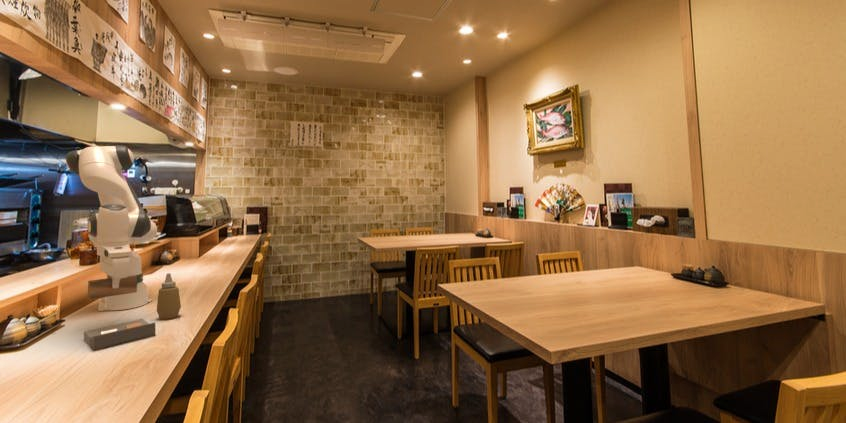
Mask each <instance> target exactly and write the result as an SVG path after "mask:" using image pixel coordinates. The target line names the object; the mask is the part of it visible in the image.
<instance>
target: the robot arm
mask: <svg viewBox="0 0 846 423" xmlns="http://www.w3.org/2000/svg"><path fill="white" fill-rule="evenodd" d="M134 162H135V156H134V153H133V151H131V149H129V147H127V146H126V145H122V144H121V145H119V144H117V145H104V146H103V145H102V146H96V145H95V146H87V147H85V148H83V149H79V150H78V149H75V150H72V151H68V153H67V154H66V155H65V164H66V167H67V168H68V169H69V170H70V172H72V173H73V174H75V175H77V176H78V175H79V178H80V180H81V183H82V184H83V186H84V187H85V188H87V189H89V190H90V191H92V192H96V193H97V195H98V199H99V204H100V207H99V209H98V212H97V213H94V214H92V215H90V216H89V217H88V218H87V220H86V221H87V234H88V238H89V241H90V242H91V243H92V244H94V245H95V246H96V255H97V256H99V271H101V272H102V273H104V274H106V276H105V277H106V279H107V278H112V283H111V285H112V286H111V287H112V288H118V287H119V282H120V279H121V278H127V277H128V276H133V275H135V276H137V292H135V293H129V294H122V295H115V296H109V297H102V298H99V299H102V301H101V300H100V301H99V302H98V309H97V310H98V312H104V311H123V310H128V309H135V308H138V307H139V308H140V307H141V306H146V304H148V302H149V303H151V302H153V299H152V298H149V294H148V285H147V284H146V283H144V273H143V272H142V269H143V267H142V264H143V263H142V257H141V255H140V254H138V253H137V252H134V251H132V248H130V246H131V245H133V244H139V243H140V244H141V243H145V242H149V241H152V240H154V239H155V237H156V236H157V234H158V227H157V225H156V223H155V222H154V221H152V220H151V219H150V217H149V216H148V215H147V212H146V211H145V210H144V208H143V206H142V204H141V202H140V200H139V197H138V195H137V194H136V192H135V190H134V187H133V186H132V185H131V182H129V181H128V180H127V178H126V177H125V175H124V173H125V174H127V173H128V171H129V170H130V169H131V168H133V166H134ZM123 170H124V173H123Z"/></svg>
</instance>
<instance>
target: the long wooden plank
mask: <svg viewBox="0 0 846 423" xmlns="http://www.w3.org/2000/svg"><path fill="white" fill-rule="evenodd" d="M111 283H112V278H107V277H106V278H100V279H93V280H91V279H90V280H87V299H89V300H94V299H100V298H102V297H109V296H115V295H122V294H129V293H135V292H137V276H135V275H133V276H128V277H127V278H121V279H120V282H119V287H118V288H112V287H111V286H112V285H111Z"/></svg>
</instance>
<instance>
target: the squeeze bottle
mask: <svg viewBox="0 0 846 423" xmlns="http://www.w3.org/2000/svg"><path fill="white" fill-rule="evenodd" d="M165 275H166V276H165V280H164V281H163V282H162V283H161V288H159V289H158V293H157V304H156V312H157V315H158V317H159V318H160V319H161V320H170V319H173V318H174V319H175V318H177V317H178V316H179V314H180V311H181V308H182V304H181V296H180V289H179V287H178V286H176V281H173V278H172V275H171V273H166V274H165Z"/></svg>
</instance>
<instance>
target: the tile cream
mask: <svg viewBox="0 0 846 423" xmlns="http://www.w3.org/2000/svg"><path fill="white" fill-rule="evenodd" d="M114 331H117V329H113V330H108V331H104V332H101V334H105V333H110V332H114ZM101 334H100V335H101Z"/></svg>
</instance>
